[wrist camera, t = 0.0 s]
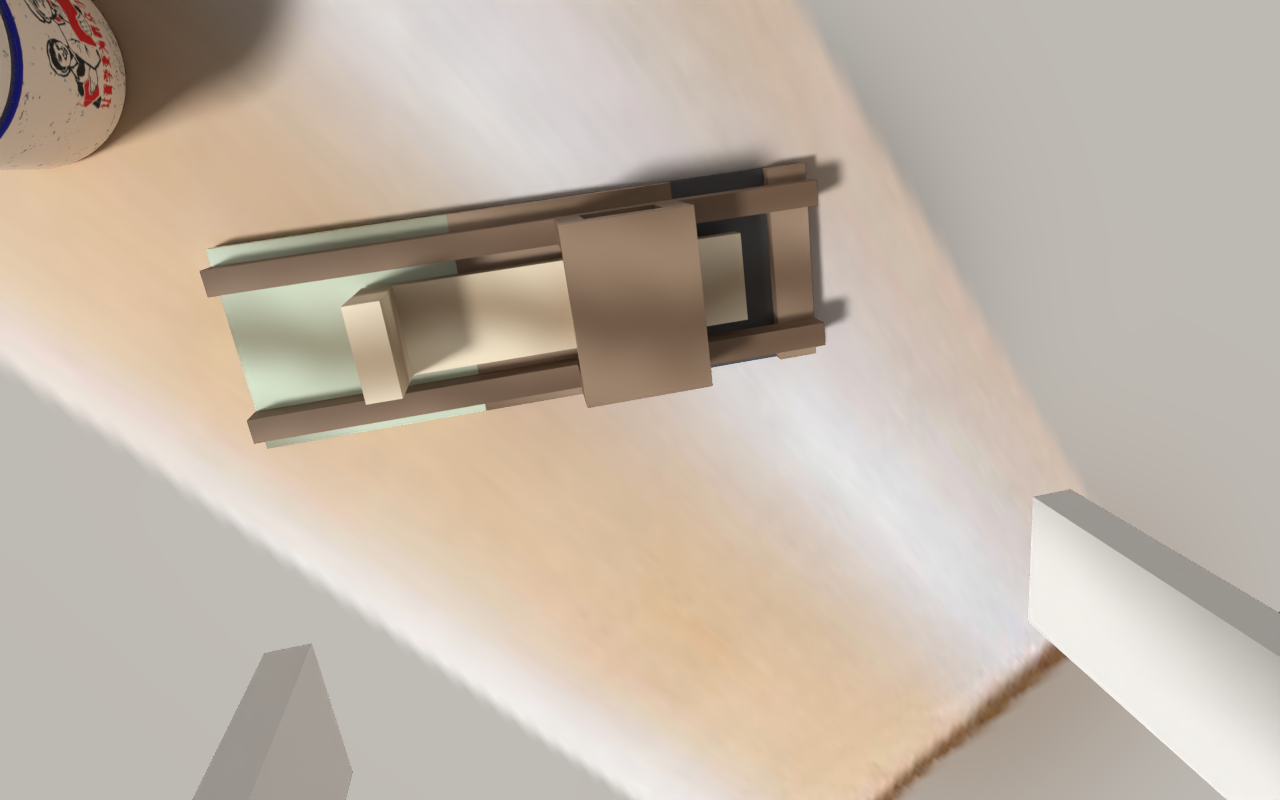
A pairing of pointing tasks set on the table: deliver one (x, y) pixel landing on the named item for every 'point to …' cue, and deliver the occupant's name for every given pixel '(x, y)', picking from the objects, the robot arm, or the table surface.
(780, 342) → the tunnel board
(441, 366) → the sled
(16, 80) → the teacup with lid
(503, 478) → the table surface
